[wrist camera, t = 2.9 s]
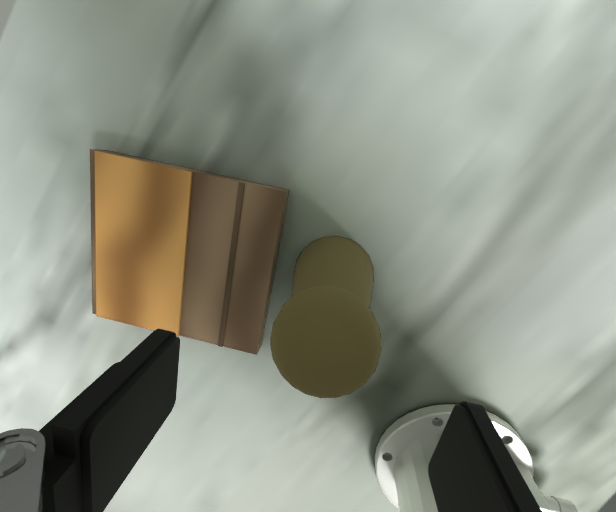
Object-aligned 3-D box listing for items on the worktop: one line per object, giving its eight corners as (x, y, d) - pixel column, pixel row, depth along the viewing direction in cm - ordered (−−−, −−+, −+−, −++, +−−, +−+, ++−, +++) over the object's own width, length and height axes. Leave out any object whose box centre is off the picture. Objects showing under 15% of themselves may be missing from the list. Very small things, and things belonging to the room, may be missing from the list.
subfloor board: (289, 190, 22) (284, 192, 20) (261, 344, 26) (255, 356, 24) (106, 150, 23) (87, 149, 21) (106, 305, 27) (90, 314, 25)
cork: (378, 238, 22) (405, 304, 12) (370, 314, 24) (387, 429, 14) (295, 233, 23) (251, 290, 12) (293, 307, 25) (253, 411, 14)
